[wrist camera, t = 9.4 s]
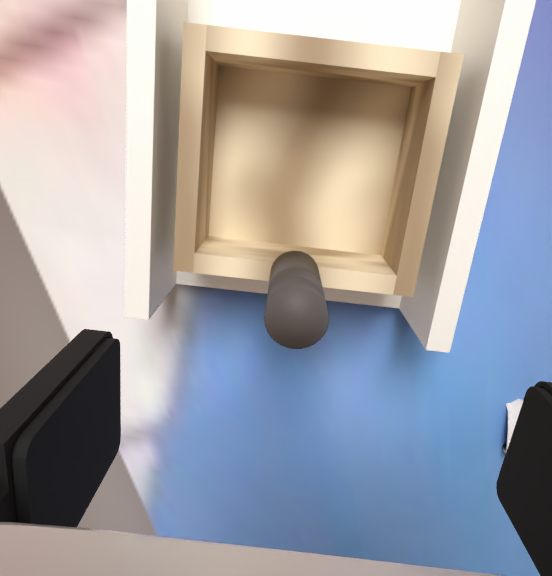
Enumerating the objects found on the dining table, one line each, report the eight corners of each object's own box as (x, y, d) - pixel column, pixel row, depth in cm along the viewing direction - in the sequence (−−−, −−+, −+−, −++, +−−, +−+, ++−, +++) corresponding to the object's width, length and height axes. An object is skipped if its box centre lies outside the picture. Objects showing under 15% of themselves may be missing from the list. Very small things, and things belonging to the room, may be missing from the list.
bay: (534, -263, 21) (644, -443, 15) (413, 305, 30) (449, 352, 23) (180, -306, 21) (130, -507, 15) (161, 277, 30) (124, 316, 23)
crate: (430, 70, 25) (535, 20, 14) (389, 281, 28) (449, 365, 18) (203, 44, 24) (140, -26, 14) (192, 259, 28) (135, 331, 18)
